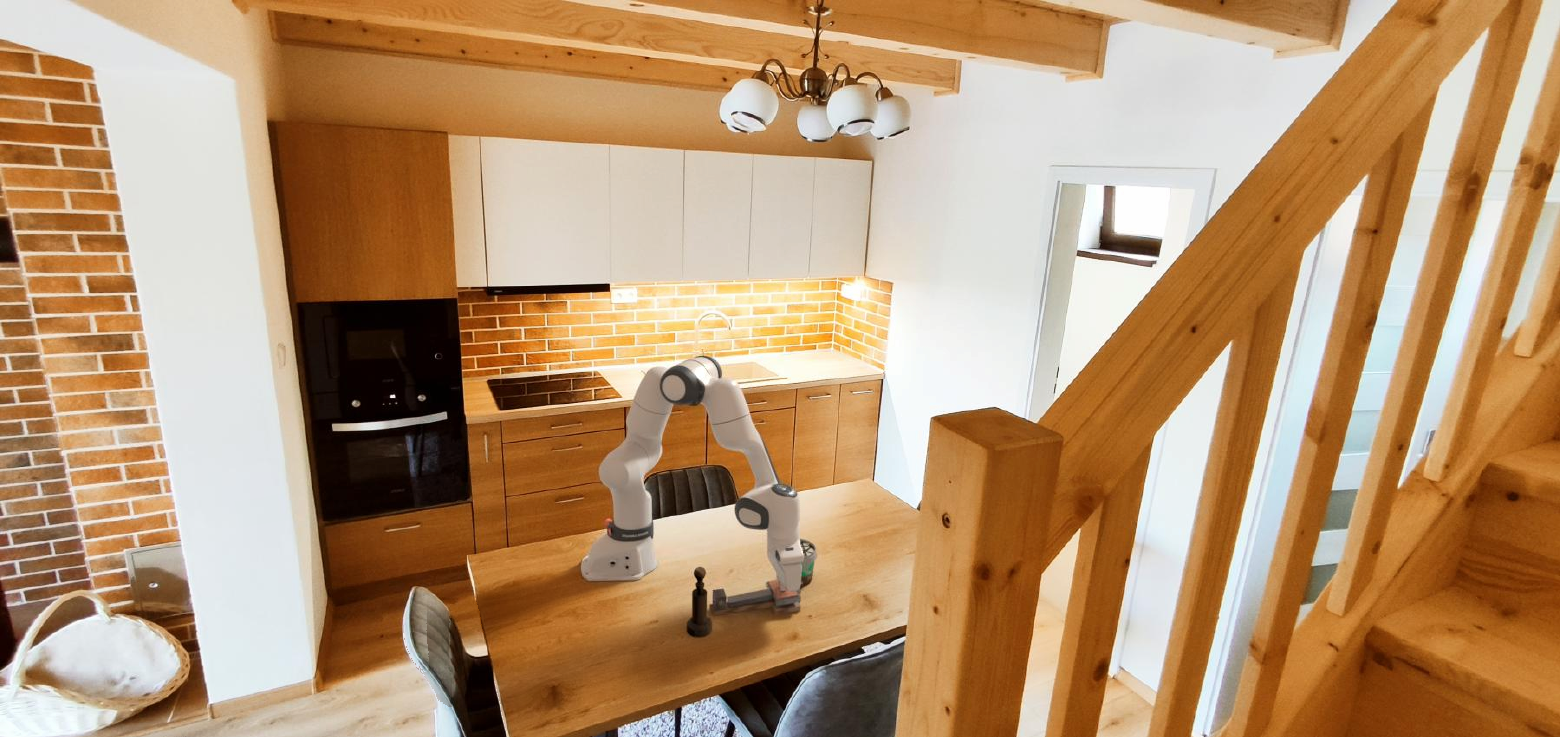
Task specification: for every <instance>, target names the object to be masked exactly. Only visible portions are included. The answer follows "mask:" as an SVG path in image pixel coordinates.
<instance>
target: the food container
mask: <svg viewBox="0 0 1560 737" xmlns="http://www.w3.org/2000/svg"><path fill="white" fill-rule="evenodd" d="M799 540H800V546H801V549H802V552H803V556H804V560H803V562H801V566H802V572H801V584H800V588H801V587H805V586H808V585H811V583H812V581H813V574H814V566H815V561H816V559H817V558H818V551H817V547H816V546H815V544H814V543H813V542H812V541H810V540H807V539H804V538H799Z"/></svg>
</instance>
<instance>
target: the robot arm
mask: <svg viewBox="0 0 1560 737" xmlns="http://www.w3.org/2000/svg"><path fill="white" fill-rule="evenodd" d="M700 404H701V405H702V406H703V407H704V408H705V410H706V412H707V416H708V420H709V424H710V427H711V431H712V433H713V437H714V439H715V441H716V443H717V444H718V445H719V446H721V447H722V448H724V449H725V450H727V451H735V452H740V453H742V454H744V455H745V457H746V458H747V461H748V463H749V466H750V469H751V471H752V473H753V476H754V480H755V485H754V487H752V489H750V490H749V491H746V493H744V495H742V496H741V497H740V498H739V499H737V500H736V501H735V504H734V515H735V518H736V520H737V521H738V523H739V524H740V525H741V526H742V527H744V528H747V529H750V530H759V531H764V530H765V531H766V556H767V559H768V561H769V562H770V564H771V566H772V567H773V569H774V571H775V573H776V578H777V579H776V580H778V586H779V588H780V590H781V591H795V590H798V589H799V588H800V589H801V587H800V584H801V572H802V566H801V562H803V560H804V556H803V552H802V549H801V546H800V536H801V535H800V529H799V523H800V520H801V505H800V504H801V503H800V497H799V493H798V491H797V490H796V488H795V487H793V486H792V485H790V484H787V483H783V482H782V480H781V479H780V477H779V476H778V474H777V471H776V469H775V467H774V464H773V461H772V458H771V456H770V454H769V450H768V448H767V446H766V442H765V440H764V439H763V436H762V435H761V433H760V431H758V430H757V429H756V426H755V424H754V421H753V419H752V416H751V413H750V409H749V405H748V403H747V400H746V398H745V394H744V392H743V391H742V389H741V386H740V384H739V383H738V381H737V380H735V379H733V378H729V377H723V371H722V368H721V365H720V363H719V362H718V361H717V360H716V359H715V358H713V357H711V356H707V355H698V356H695V357H692V358H687V359H685V360H683V361H681V362H680V363H677V364H676V365H674V366H671V367H669V368H668V367H665V366H653V367H651V368H649V369H648V370H647V371H646V373H645V375H644V376H643V378H642V380H641V381H640V383H639V385H638V387H637V390H636V391H635V395H634V397H633V400H632V402H631V405H630V409H629V411H628V413H627V417H626V420H625V424H626V428H627V433H626V436H625V439H624V440H623V441H622V443H621V444H620V445H619V446H617V447H616V448H615V449H613V450H612V451H609V453H608V454H607V455H606V456H605V458H604V459H603V460H602V461H601V463H600V464H599V468H598V477H599V479H600V481H601V482H602V484H603V485H604V486H605V487H606V488H608V489H609V490H610V493H611V497H612V504H613V520H612V519H611V518H606V519H605V520H604V526H605V527H606V533H605V534H603V535H602V536H601V537H600V538H598V539H596V540H595V541H594V542H593V543H592V544H591V546H590V548H589V552H588V554H587V555H585V557H584V558H583V559H582V560H581V562H580V563H581V564H580V573H581V575H582V577H583V578H584V579H585V580H587V582H598V581H599V582H600V581H601V582H605V581H607V582H609V581H610V582H611V581H613V582H614V581H638V580H641V579H642V578H643V577H644V575H646V574H648V573H651V572H652V571H653V570H655V568H657V566H658V563H659V561H658V559H657V555H656V551H655V546H654V535H655V526H654V525H655V524H654V519H653V516H652V514H653V509H652V508H653V507H652V502H653V500H652V495H651V493H650V492H649V491H648V490H647V489H646V488H645V484H644V478H645V475H646V474H647V473H648V472H650V471H651V470H652V469H653V468H654V467H655V466H657V463H658V462H659V461H660V459H661V457H662V456H663V445H662V440H663V436H664V435H663V434H664V432H665V428H666V425H667V423H668V421H669V418H670V416H671V413H672V411H673V410H672V409H673V407H674V406H675V405H678V406H689V407H697V406H699V405H700Z"/></svg>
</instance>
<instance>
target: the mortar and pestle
mask: <svg viewBox="0 0 1560 737" xmlns="http://www.w3.org/2000/svg"><path fill="white" fill-rule="evenodd" d="M706 575H707V571H706V569H705V568H704V567H703V566H697V567H695V569H694V571H693V576H694V577H695V579H696V582H695V589H693V590H692V593H691V603H692V604H691V618H690V617H689V619H688V620H687V622H686V632H687V634H688V635H689V636H691V637H693V638H704V637H707V636H708V635H710V634H711V633H712V632H713V621H712V619H711V618H710V617H709V616H708V591H707V589H705V582H704V578H705V577H706Z"/></svg>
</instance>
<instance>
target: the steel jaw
mask: <svg viewBox="0 0 1560 737" xmlns="http://www.w3.org/2000/svg"><path fill="white" fill-rule="evenodd" d="M765 587H766V588H765V589H760V590H755V591H750V592H745V593H741V594H740V593H739V594H735V595H734V594H733V595H729V596H727V602H728V604H729V607H730V608H731V607H736V606H741V605H746V604H751V603H756V602H761V601H766V600H771V599H773V601H774V603H775V605H776V606H780V605H785V604H790V603H795V602H800V603H801V601H802V600H801V595H800V594H801V587H800V588H799V589H798V590H795V591H781V590H780V588H779V586H778V579H774V580H768V581H766V582H765Z"/></svg>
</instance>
